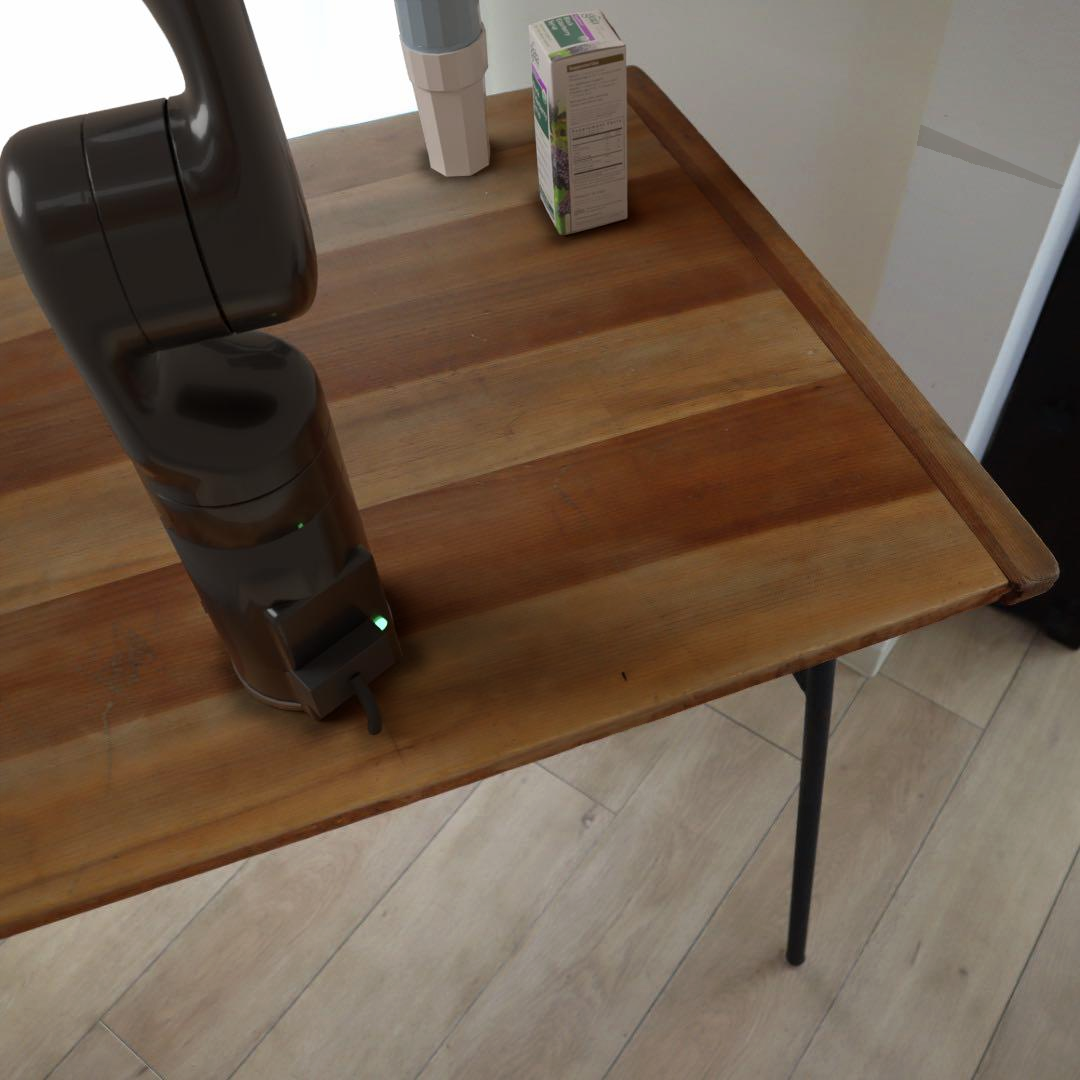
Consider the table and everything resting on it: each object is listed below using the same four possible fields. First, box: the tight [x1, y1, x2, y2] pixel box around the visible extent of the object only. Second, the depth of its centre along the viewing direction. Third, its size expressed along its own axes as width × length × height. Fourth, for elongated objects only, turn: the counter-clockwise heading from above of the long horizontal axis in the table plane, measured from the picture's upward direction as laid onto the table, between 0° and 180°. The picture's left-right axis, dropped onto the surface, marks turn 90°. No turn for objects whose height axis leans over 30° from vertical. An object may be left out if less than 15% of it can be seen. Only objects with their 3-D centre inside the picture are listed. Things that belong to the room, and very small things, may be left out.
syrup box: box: [528, 9, 629, 236], centre depth 87 cm, size 6×6×14 cm
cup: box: [398, 20, 491, 178], centre depth 94 cm, size 7×7×11 cm
